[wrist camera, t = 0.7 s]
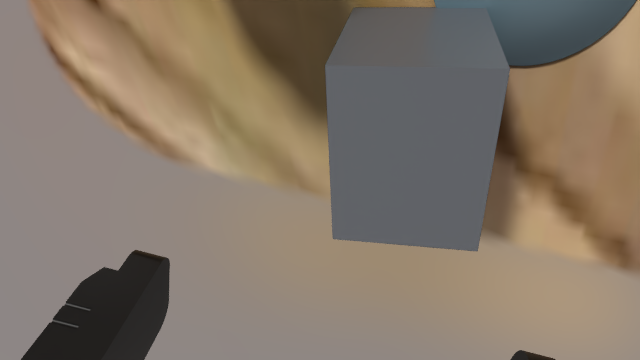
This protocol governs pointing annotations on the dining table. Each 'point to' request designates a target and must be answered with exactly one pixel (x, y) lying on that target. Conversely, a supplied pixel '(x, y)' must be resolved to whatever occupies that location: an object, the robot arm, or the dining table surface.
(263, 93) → the dining table surface
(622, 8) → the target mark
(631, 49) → the dining table surface
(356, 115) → the rectangular block
